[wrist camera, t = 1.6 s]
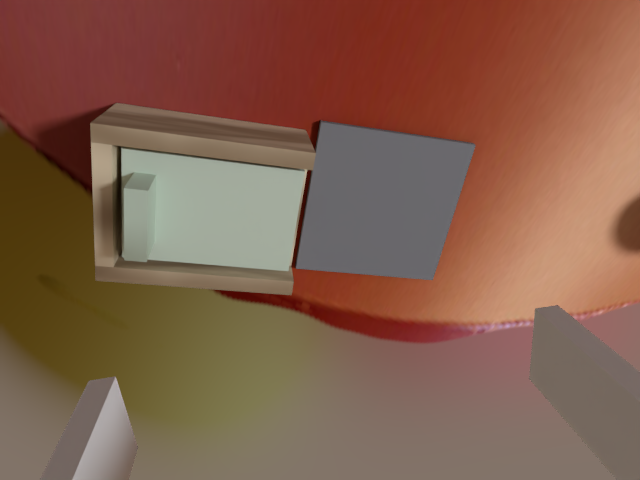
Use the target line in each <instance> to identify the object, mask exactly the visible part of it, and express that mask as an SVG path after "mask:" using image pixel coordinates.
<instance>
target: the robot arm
mask: <svg viewBox="0 0 640 480" xmlns="http://www.w3.org/2000/svg"><path fill="white" fill-rule="evenodd" d="M529 379H530V380H531V381H532V382H533V384H534V385H535V386H536V387H537V388H538V389H539V391H541V393H542V394H543V395H544V396H545V398H546V399H547V400H548V401H549V402H550V403H551V404H552V406H553V407H554V408H555V409H556V410H557V411H558V412H559V413H560V415H561V416H562V417H563V418H564V419H565V421H566V422H567V423H568V424H569V425H570V426H571V427H572V429H573V430H574V431H575V432H576V433H577V434H578V436H579V437H580V438H581V439H582V440H583V441H584V443H585V444H586V445H587V446H588V447H589V448H590V449H591V451H592V452H593V453H594V454H595V455H596V457H597V458H599V460H600V461H601V462H602V463H603V465H604V466H605V467H606V468H607V469H608V470H609V472H610V473H611V474H612V475H613V476H614V477H615V478H616V480H640V372H639V371H638V370H637V369H636V368H634V367H633V366H632V365H631V364H630V363H628V362H627V361H626V360H625V359H623V358H622V357H621V356H620V355H618V354H617V353H616V352H615V351H614V350H612V349H611V348H610V347H609V346H607V345H606V344H605V343H604V342H602V341H601V340H600V339H599V338H598V337H596V336H595V335H594V334H592V333H591V332H590V331H589V330H587V329H586V328H585V327H584V326H583V325H581V324H580V323H579V322H578V321H577V320H575V319H574V318H573V317H572V316H570V315H569V314H568V313H567V312H565V311H564V310H563V309H562V308H560V307H559V306H558V305H556V306H549V307H543V308H537V309H535V317H534V329H533V341H532V353H531V364H530V376H529ZM137 449H138V446H137V443H136V440H135V437H134V433H133V430H132V427H131V424H130V421H129V418H128V414H127V412H126V408H125V405H124V402H123V398H122V395H121V392H120V389H119V386H118V383H117V380H116V377H110V378H104V379H97V380H91V381H89V382H88V384H87V386H86V388H85V390H84V392H83V394H82V396H81V398H80V400H79V402H78V404H77V406H76V408H75V410H74V412H73V414H72V416H71V418H70V420H69V422H68V424H67V426H66V428H65V430H64V432H63V434H62V436H61V438H60V440H59V442H58V444H57V446H56V448H55V450H54V452H53V455H52V456H51V458H50V460H49V462H48V464H47V466H46V468H45V471H44V472H43V474H42V476H41V478H40V480H129V477H130V473H131V470H132V466H133V463H134V459H135V456H136V452H137Z"/></svg>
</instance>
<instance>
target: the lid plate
mask: <svg viewBox="0 0 640 480" xmlns="http://www.w3.org/2000/svg"><path fill="white" fill-rule="evenodd" d="M121 160H122V257H123V258H124V260H125V261H138V262H147V260H159V261H171V262H183V263H195V264H207V265H219V266H231V267H243V268H255V269H267V270H279V271H289V265H290V259H291V253H292V247H293V241H294V235H295V229H296V223H297V217H298V211H299V204H300V198H301V192H302V186H303V180H304V174H305V170H304V169H298V168H290V167H282V166H274V165H266V164H258V163H250V162H242V161H235V160H227V159H219V158H211V157H203V156H195V155H187V154H179V153H171V152H164V151H156V150H148V149H140V148H132V147H124V146H123V147H122V148H121Z"/></svg>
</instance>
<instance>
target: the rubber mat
mask: <svg viewBox="0 0 640 480" xmlns="http://www.w3.org/2000/svg"><path fill="white" fill-rule="evenodd" d="M474 148H475V144H473V143H469V142H463V141H456V140H449V139H442V138H435V137H429V136H422V135H415V134H408V133H402V132H395V131H388V130H381V129H375V128H368V127H361V126H354V125H348V124H341V123H334V122H327V121H321V120H320V124H319V130H318V136H317V142H316V148H315V152H316V156H315V162H314V167H313V170H312V171H311V177H310V182H309V188H308V194H307V200H306V206H305V212H304V217H303V223H302V229H301V235H300V241H299V247H298V252H297V258H296V264H295V266H296V269H308V270H320V271H331V272H343V273H355V274H367V275H378V276H390V277H402V278H414V279H425V280H433V277H434V274H435V271H436V268H437V265H438V262H439V259H440V255H441V252H442V249H443V246H444V243H445V240H446V237H447V233H448V230H449V227H450V224H451V221H452V218H453V215H454V211H455V208H456V205H457V202H458V199H459V196H460V192H461V189H462V186H463V183H464V180H465V177H466V174H467V170H468V167H469V164H470V161H471V158H472V155H473V152H474Z"/></svg>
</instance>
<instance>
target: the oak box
mask: <svg viewBox="0 0 640 480" xmlns="http://www.w3.org/2000/svg"><path fill="white" fill-rule="evenodd" d="M90 131H91V160H92V190H93V219H94V249H95V278H96V281H107V282H121V283H135V284H149V285H162V286H175V287H190V288H202V289H216V290H229V291H243V292H256V293H270V294H284V295H291V294H292V289H293V283H294V280H293V274H292V268H291V264H292V258H293V252H294V246H295V240H296V234H297V228H298V222H299V216H300V210H301V204H302V199H303V193H304V187H305V181H306V175H307V170H313V167H314V162H315V156H316V152H315V150H314V148H313V145H312V143H311V141H310V139H309V136H308V134H307V132H306V130H302V129H295V128H288V127H281V126H274V125H267V124H260V123H253V122H246V121H239V120H232V119H225V118H218V117H211V116H204V115H197V114H190V113H183V112H176V111H169V110H162V109H155V108H148V107H141V106H134V105H127V104H120V103H116V104H114V105H113V106H112V107H110V108H109V109H108V110H107V111H105V112H104V113H103V114H101V115H100V116H99V117H97V118H96V119H95V120H93V121H92V122H91V123H90ZM123 146H124V147H132V148H140V149H148V150H156V151H164V152H171V153H179V154H187V155H195V156H203V157H211V158H219V159H227V160H235V161H242V162H250V163H258V164H266V165H274V166H282V167H290V168H298V169H304V170H305V174H304V180H303V186H302V192H301V198H300V204H299V211H298V217H297V223H296V229H295V235H294V241H293V247H292V253H291V259H290V265H289V271H279V270H267V269H255V268H243V267H231V266H219V265H207V264H195V263H183V262H171V261H159V260H147V262H138V261H125V260H124V258H123V257H122V160H121V148H122V147H123Z"/></svg>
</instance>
